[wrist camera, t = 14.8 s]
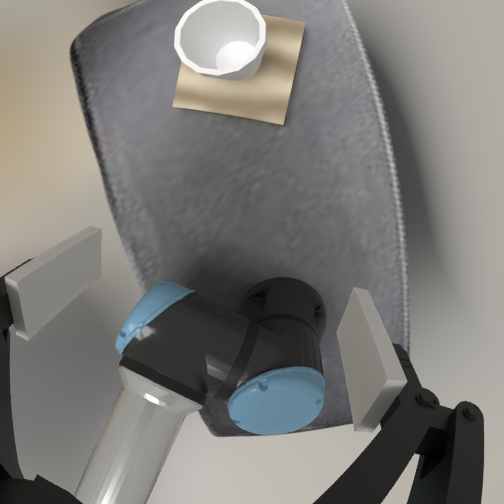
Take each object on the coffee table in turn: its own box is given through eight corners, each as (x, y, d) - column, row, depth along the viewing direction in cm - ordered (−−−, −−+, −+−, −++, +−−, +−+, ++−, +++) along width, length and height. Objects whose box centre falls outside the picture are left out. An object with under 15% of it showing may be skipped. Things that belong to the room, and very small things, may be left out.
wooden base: (283, 126, 44) (283, 125, 41) (181, 108, 45) (172, 106, 41) (304, 31, 39) (305, 22, 35) (202, 17, 39) (195, 8, 35)
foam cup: (283, 76, 38) (281, 51, 26) (221, 103, 40) (196, 91, 28) (253, 22, 36) (241, -17, 24) (194, 49, 38) (161, 21, 26)
